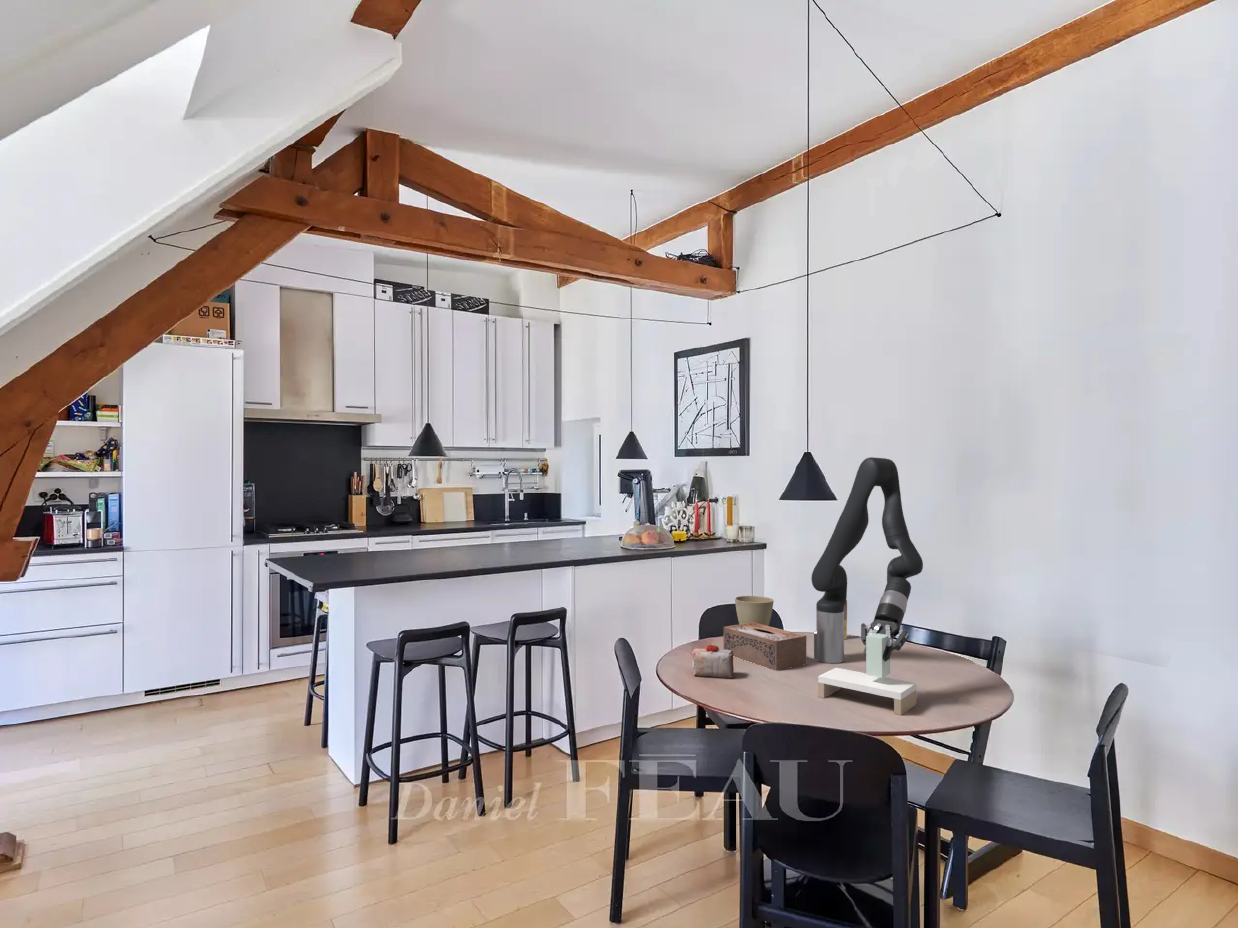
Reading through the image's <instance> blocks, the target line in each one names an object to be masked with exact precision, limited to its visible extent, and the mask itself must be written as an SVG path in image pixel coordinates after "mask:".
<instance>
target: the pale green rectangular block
mask: <svg viewBox="0 0 1238 928" xmlns="http://www.w3.org/2000/svg"><path fill="white" fill-rule="evenodd" d="M887 641H888V636H887V635H885V634H878V633H876V634H874V633H873V634H871V633H870V634H868V636H866V645H865V646H866V656H865V661H866V662H865V664H866V667H865V668H866V670H865V671H866V672H865V673H866V675H870V676H875V677H880V678H883V677H887V676H888V675H889V674H891V658H890V659H889V660H887V662H885V661H884V660H883V654H884V651H885V647H887Z"/></svg>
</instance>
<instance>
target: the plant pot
mask: <svg viewBox="0 0 1238 928" xmlns="http://www.w3.org/2000/svg"><path fill="white" fill-rule="evenodd" d="M774 601H775V600H774V598H772V597H768V596H767V597H766V596H760V595H759V596H758V595H740V596H735V597H734V603H735V610H736V616H737V621H738V625H739V624H745V623H751V622H754V623H758V624H762V625H766V626H769V625H770V622H771V619H772V614H773V607H774Z"/></svg>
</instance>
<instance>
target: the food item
mask: <svg viewBox="0 0 1238 928" xmlns="http://www.w3.org/2000/svg"><path fill="white" fill-rule="evenodd" d="M691 655H692V656H691V661H692V663H691V667H692V668H691V669H692V670H691V671H692V673H693V676H694V675H697V676H696V677H701V676H711V677H710V678H719V677H721V679H733V678H734V674H735V673H734V657H733V650H725V649H724V648H719V646H717V645H715V644H714V643H712V644H708V645H706V648H702V647H701V648H699V647H698V648H694V649H693V651H692V652H691Z"/></svg>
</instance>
